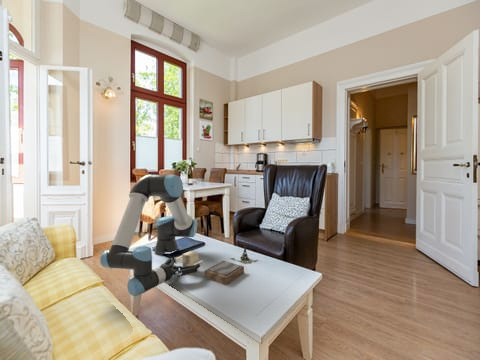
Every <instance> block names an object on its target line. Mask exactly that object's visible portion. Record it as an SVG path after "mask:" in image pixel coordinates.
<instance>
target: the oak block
mask: <svg viewBox="0 0 480 360" xmlns="http://www.w3.org/2000/svg"><path fill="white" fill-rule="evenodd" d="M182 255H183V261H182V267H183V266H192V265H193V264H195V263H197V262H199V252H195V251H193V250H189V251H187V252H185V253H182ZM197 272H199V268H197ZM194 274H195V273H191V274H188V275H189V276H192V275H194Z"/></svg>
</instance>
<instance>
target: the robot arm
mask: <svg viewBox="0 0 480 360" xmlns="http://www.w3.org/2000/svg"><path fill="white" fill-rule="evenodd" d="M183 185H184V183H183V180H182V179H181V177H180V176H179V175H178V174H172V173H171V174H154V173H153V174H146V175H144V176H142V177H141V178H140V179H138V180H137V181H136V182H135V183H134V185H133V186H132V188H131V189H130V191H129V194H128V197H129V200H128V202H127V205H126V208H125V211H124V213H123V215H122V219H121V221H120V224H119V226H118V228H117V231H116V234H115V237H114V239H113V241H112V244H111V246H110V249H107V250H106V249H105V250H104V251H103V252H102V253H101V255H100V259H99V264H100V266H102V267H103V268H108V269H117V270H118V269H120V270H121V269H122V270H133V277H131V278H130V279H128V281H127V284H126V285H127V286H126V288H127V290H128V293H129V295H131V296H132V297H138V296H140V295H142V294H145V293H146V292H148V291H150V290H152V289H154V288H156V287H158V286H161V284H163V283H167V281H168V282H169V280H172V278H173V276H174V275H175V276H177V277H178V278H180V277H182V276H187V275H189V274H191V273H194V274H196V273H197V272H198V271H197V268H198V269H200V268H201V267H203V265H204V261H203V260H202V259H201V260H198V262H197V263H195V264H193V265H192V266H183V265H176V264H179V263H181V262H183V254H182V255H180V256H178V257H174V256H173V257H169V258H168V259H166V261H165V262H164V263H163V264H160V266H159V267H156V268H153V254H152V252H153V251H152V248H151V247H150V246H146V245H145V246H138V247H136V248H134V249H133V251H132V250H131V251H130V248H131V247H130V246H131V244H132V242H133V238H134V235H135V232H136V230H137V227H138V224H139V222H140V218H141V216H142V213H143V209H144V207H145V204H146V203H147V202H148V201H149V200H150V197H159V199H160V200H161V201H162V203H165V204H166V205H167V208H168V210H169V212H170V214H171V215H168V216H163V217H160V218H158V219H157V222H156V240H157V241H156V243H155V248H154V254H155V255H158V256H164V255H163V253H165V252H172V251H175V250H177V249H178V250H179V245H178V243H177V240H176V237H177V238H194V237H195V236H196V234H197V231H198V230H197V229H198V220H197V219H193V217H192V216H191V215H190V214H188V211H187V209H186V207H185V205H184V202H183V199H182V197H181V196H182V195H183V192H184V186H183Z"/></svg>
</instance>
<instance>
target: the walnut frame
mask: <svg viewBox="0 0 480 360" xmlns="http://www.w3.org/2000/svg"><path fill="white" fill-rule="evenodd" d="M244 273H245V266H244V265H241V264H237V263H234V262H230V261H227V260H221V261H219V262H218V263H216V264H214V265H213V266H211V267H209V268H207V269H205V270H204V278H205V279H208V280H211V281H213V282H217V283H219V284H222V285H224V286H228V285H229V284H230V283H232V282H233V281H235V280H236V279H238V278H239V277H240V276H242V275H243V274H244Z"/></svg>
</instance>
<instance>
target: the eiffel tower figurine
mask: <svg viewBox="0 0 480 360" xmlns="http://www.w3.org/2000/svg"><path fill="white" fill-rule="evenodd" d="M246 243H247V242H246V240H244V246H243V247H244V248H243V253H242V255H241V256H240V257H239V258H240V260H236V259H235V258H234V257H232V258H230V260H232V261H235V262H239V263H242V264H244V265H250V264H252V263H256V262H258V259H256V260H252V261H251V260H250V258H249V257H248V253H247V249H246V248H247V247H246Z"/></svg>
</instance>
